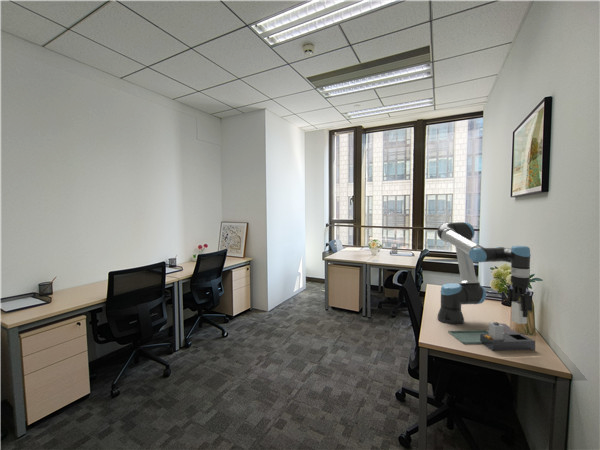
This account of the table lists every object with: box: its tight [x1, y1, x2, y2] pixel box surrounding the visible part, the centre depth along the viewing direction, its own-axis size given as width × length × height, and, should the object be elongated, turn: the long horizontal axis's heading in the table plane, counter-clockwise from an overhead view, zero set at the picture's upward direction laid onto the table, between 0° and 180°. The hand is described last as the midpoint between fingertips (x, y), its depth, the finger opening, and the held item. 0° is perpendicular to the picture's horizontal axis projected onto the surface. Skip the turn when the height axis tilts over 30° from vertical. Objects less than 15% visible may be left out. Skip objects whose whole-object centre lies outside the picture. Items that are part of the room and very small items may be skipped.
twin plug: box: [488, 321, 504, 340], centre depth 141 cm, size 4×4×11 cm
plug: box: [510, 300, 528, 325], centre depth 141 cm, size 4×4×11 cm
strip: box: [480, 332, 536, 352], centre depth 141 cm, size 9×22×6 cm, turn 92°
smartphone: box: [498, 322, 518, 334], centre depth 163 cm, size 7×1×15 cm
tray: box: [448, 329, 489, 345], centre depth 151 cm, size 14×22×2 cm, turn 92°
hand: (519, 320), depth 141 cm, fingers closed on plug, 4 cm apart
